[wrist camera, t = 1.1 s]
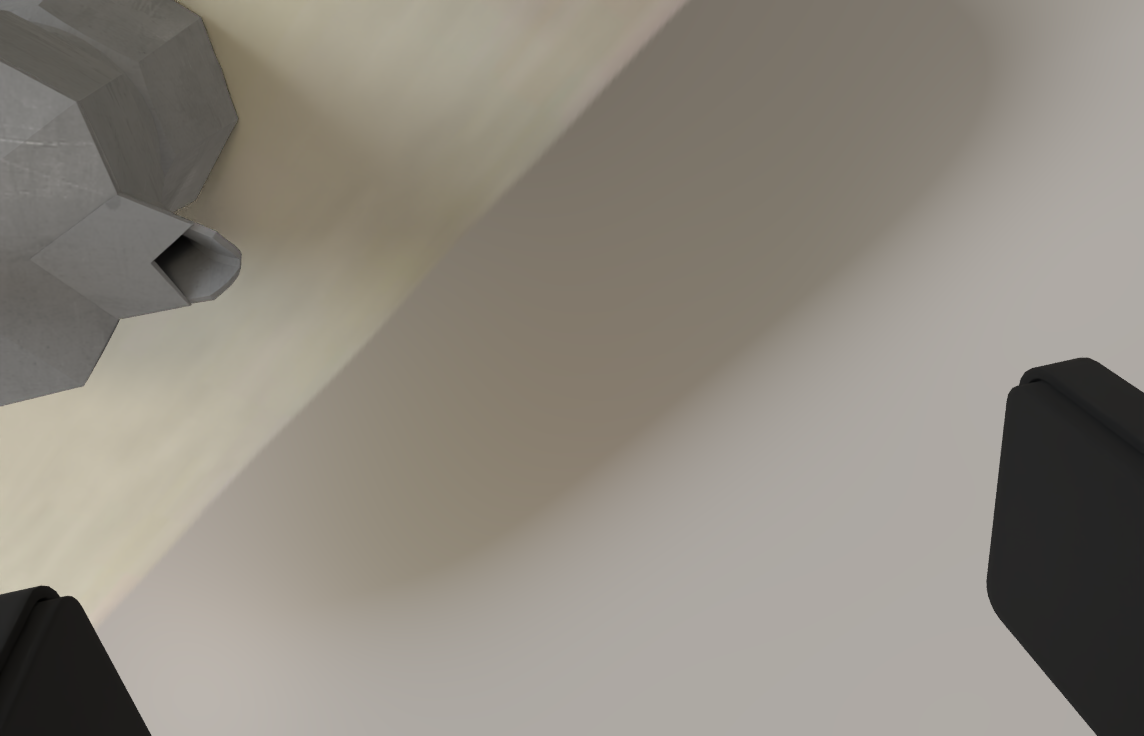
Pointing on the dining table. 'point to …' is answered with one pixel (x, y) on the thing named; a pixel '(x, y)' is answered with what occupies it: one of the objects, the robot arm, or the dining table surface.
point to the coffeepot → (102, 179)
